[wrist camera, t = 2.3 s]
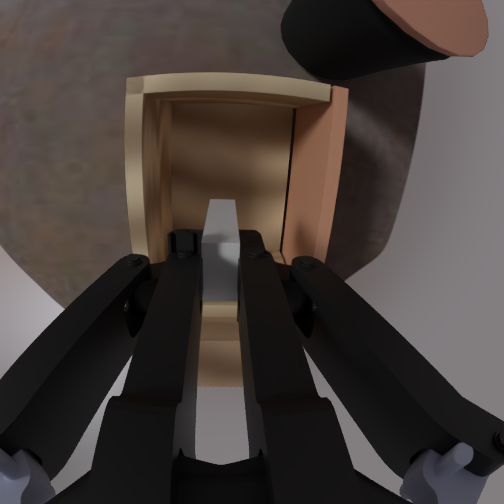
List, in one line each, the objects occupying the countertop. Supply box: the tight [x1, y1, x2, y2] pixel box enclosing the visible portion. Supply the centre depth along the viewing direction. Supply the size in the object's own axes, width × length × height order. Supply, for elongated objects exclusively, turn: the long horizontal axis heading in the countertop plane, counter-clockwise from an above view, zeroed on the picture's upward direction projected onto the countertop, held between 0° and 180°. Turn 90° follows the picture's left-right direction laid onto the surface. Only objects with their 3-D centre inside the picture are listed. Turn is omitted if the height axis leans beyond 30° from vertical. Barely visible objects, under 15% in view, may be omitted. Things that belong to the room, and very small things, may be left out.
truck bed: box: [125, 73, 331, 387], centre depth 23 cm, size 24×13×14 cm, turn 176°
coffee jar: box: [281, 0, 488, 80], centre depth 13 cm, size 11×11×18 cm
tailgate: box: [281, 86, 348, 265], centre depth 23 cm, size 18×1×10 cm, turn 176°
